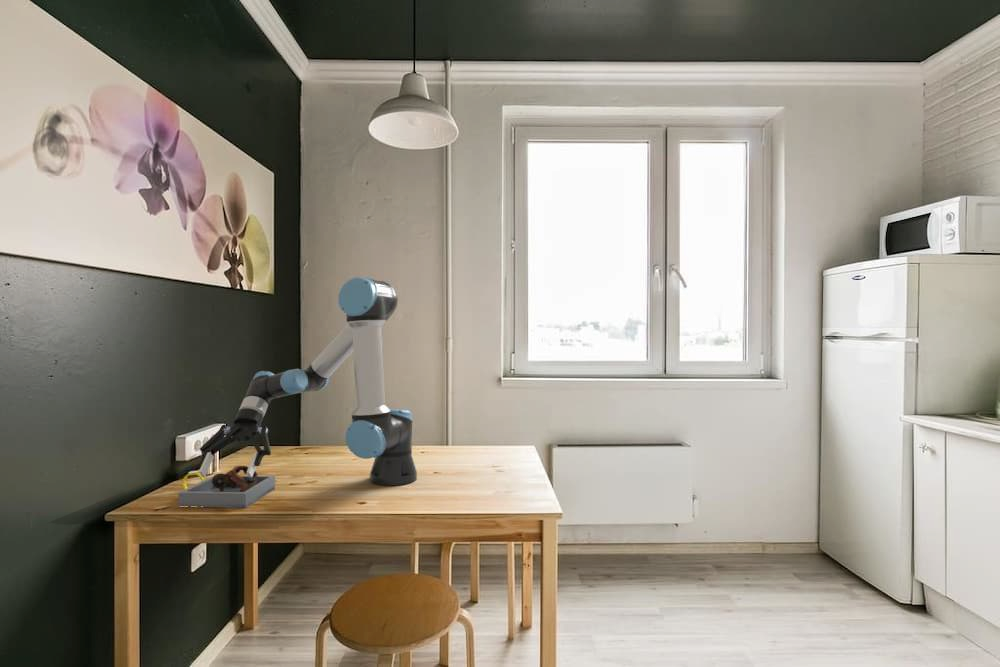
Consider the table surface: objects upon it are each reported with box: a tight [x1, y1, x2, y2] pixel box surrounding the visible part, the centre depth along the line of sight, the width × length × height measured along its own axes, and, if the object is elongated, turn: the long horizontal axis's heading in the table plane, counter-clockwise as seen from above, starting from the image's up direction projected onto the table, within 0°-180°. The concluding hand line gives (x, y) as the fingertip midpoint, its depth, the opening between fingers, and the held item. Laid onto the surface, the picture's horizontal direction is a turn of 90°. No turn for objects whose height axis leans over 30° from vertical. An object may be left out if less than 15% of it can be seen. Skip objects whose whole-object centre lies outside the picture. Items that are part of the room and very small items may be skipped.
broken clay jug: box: [212, 465, 258, 492], centre depth 157 cm, size 12×10×8 cm
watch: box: [182, 470, 206, 490], centre depth 162 cm, size 6×3×6 cm, turn 93°
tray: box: [177, 475, 276, 509], centre depth 156 cm, size 18×18×4 cm
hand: (225, 474), depth 153 cm, fingers open, 13 cm apart
